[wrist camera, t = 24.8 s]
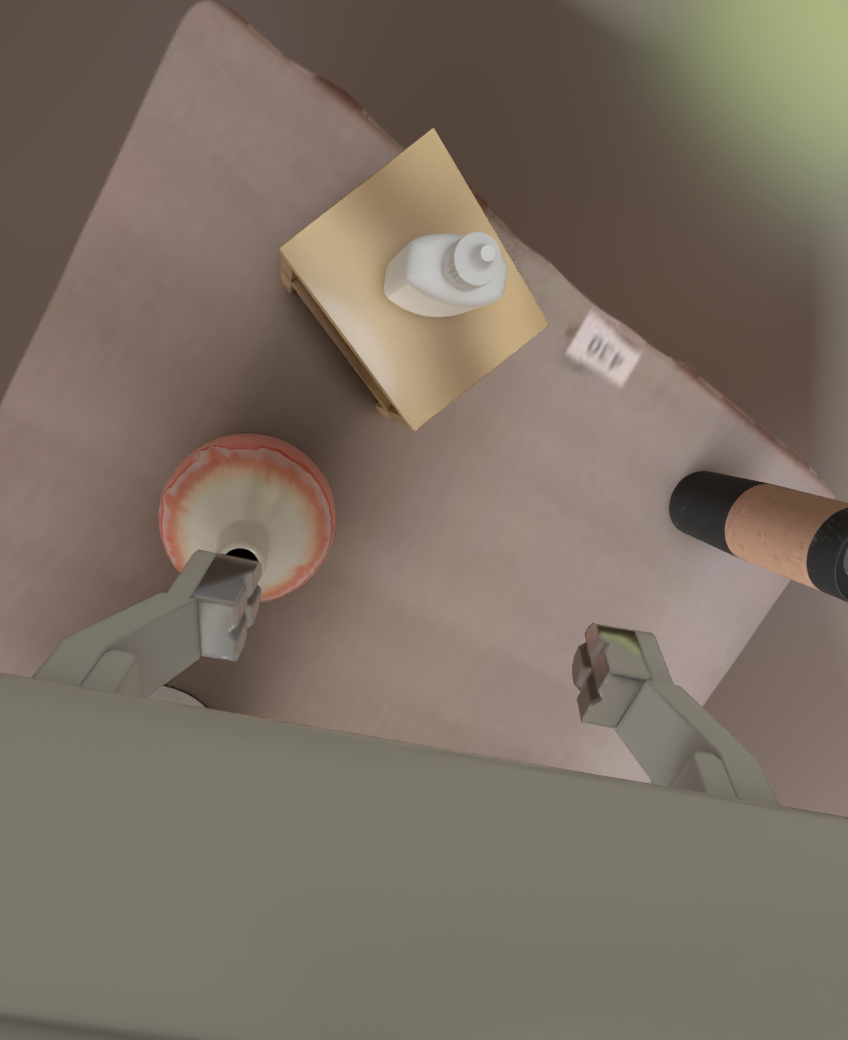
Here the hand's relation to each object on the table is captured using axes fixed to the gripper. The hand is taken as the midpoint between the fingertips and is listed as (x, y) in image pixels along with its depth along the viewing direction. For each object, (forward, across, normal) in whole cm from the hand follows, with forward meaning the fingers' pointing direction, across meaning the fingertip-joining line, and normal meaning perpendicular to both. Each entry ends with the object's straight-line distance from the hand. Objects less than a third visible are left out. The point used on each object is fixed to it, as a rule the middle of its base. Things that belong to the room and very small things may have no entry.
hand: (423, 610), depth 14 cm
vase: (+32, +14, +21) cm, 41 cm away
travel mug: (+44, -31, +18) cm, 57 cm away
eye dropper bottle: (+29, +2, -1) cm, 29 cm away
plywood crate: (+41, +5, +4) cm, 42 cm away
